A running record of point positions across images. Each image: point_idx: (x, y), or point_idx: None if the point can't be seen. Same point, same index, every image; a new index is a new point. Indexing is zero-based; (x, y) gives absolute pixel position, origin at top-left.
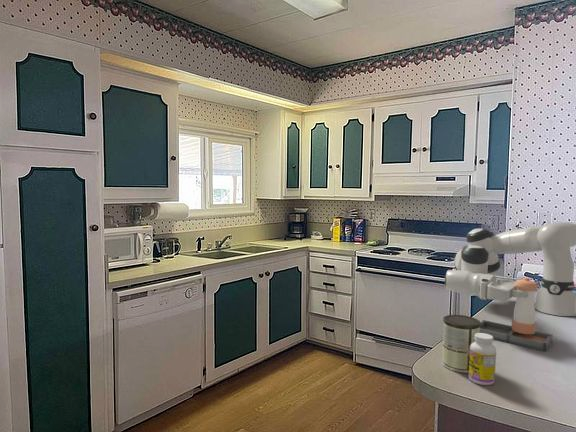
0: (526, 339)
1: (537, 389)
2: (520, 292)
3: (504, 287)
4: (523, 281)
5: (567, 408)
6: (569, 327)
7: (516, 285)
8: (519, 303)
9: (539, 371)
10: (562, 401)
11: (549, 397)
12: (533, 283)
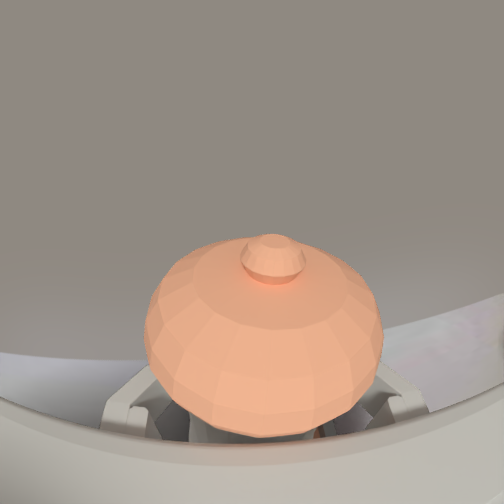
0: (336, 435)
1: (493, 334)
2: (384, 367)
3: (476, 458)
4: (352, 287)
5: (489, 301)
6: (22, 359)
7: (366, 389)
8: (312, 436)
9: (447, 359)
10: (484, 308)
11: (492, 318)
12: (299, 242)
